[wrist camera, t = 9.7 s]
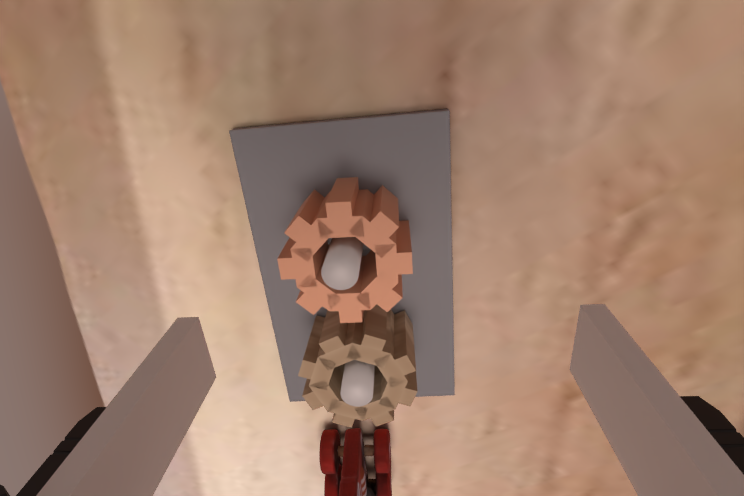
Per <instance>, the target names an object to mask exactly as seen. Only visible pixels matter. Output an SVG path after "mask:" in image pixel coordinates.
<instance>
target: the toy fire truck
mask: <svg viewBox="0 0 744 496" xmlns="http://www.w3.org/2000/svg"><path fill="white" fill-rule="evenodd" d="M373 444H374V445H365V446H364V442H363V438H362V432H361V429H360V428H355V429H347V430H346V432H345V440H344V446H340V436H339V432H338V430H335V429H331V430H324V431H323V433H322V436H321V441H320V467H321V471H322V473H323V474H326V475H325V496H392V488H391V447H390V433H389V430H388V429H376V430H375V431H374V437H373ZM373 455H374V463H375V469H376V479H368V475H367V471H366V463H365V456H373ZM340 456H341V457H343V463H342V465H341V464H340Z"/></svg>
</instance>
